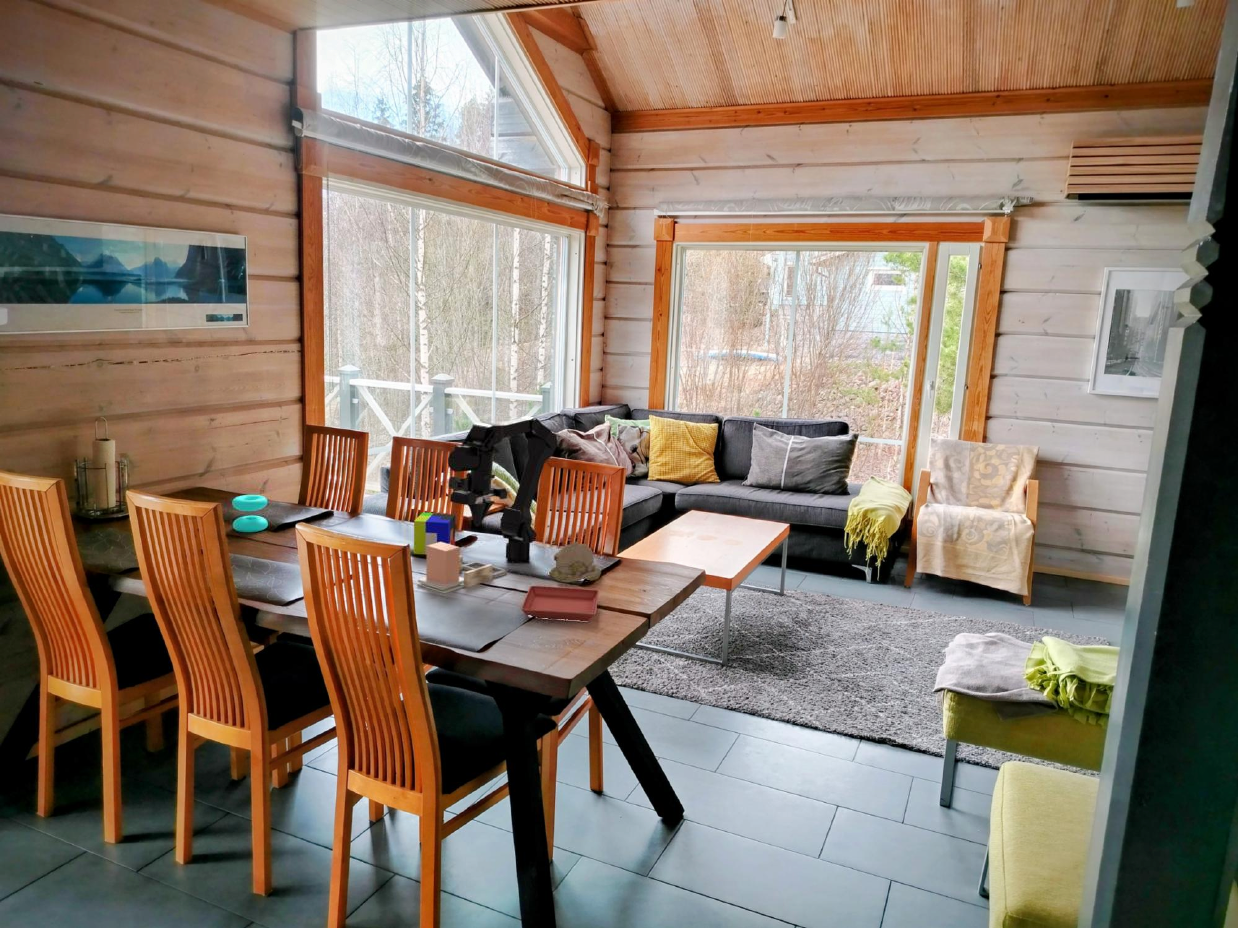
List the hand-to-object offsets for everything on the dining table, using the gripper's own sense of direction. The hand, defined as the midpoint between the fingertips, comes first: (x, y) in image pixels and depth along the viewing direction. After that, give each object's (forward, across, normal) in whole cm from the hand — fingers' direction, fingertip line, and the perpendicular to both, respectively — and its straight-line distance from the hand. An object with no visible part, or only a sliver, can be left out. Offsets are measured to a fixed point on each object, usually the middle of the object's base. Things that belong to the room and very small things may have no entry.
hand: (476, 526), depth 238 cm
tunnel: (+14, +4, 0) cm, 15 cm away
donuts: (+15, +6, -81) cm, 82 cm away
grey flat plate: (+13, -4, +1) cm, 14 cm away
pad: (+15, +12, -1) cm, 19 cm away
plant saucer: (+15, +8, +34) cm, 38 cm away
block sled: (+14, +12, -1) cm, 18 cm away
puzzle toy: (+13, -12, -23) cm, 29 cm away
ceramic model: (+13, -17, +23) cm, 31 cm away
